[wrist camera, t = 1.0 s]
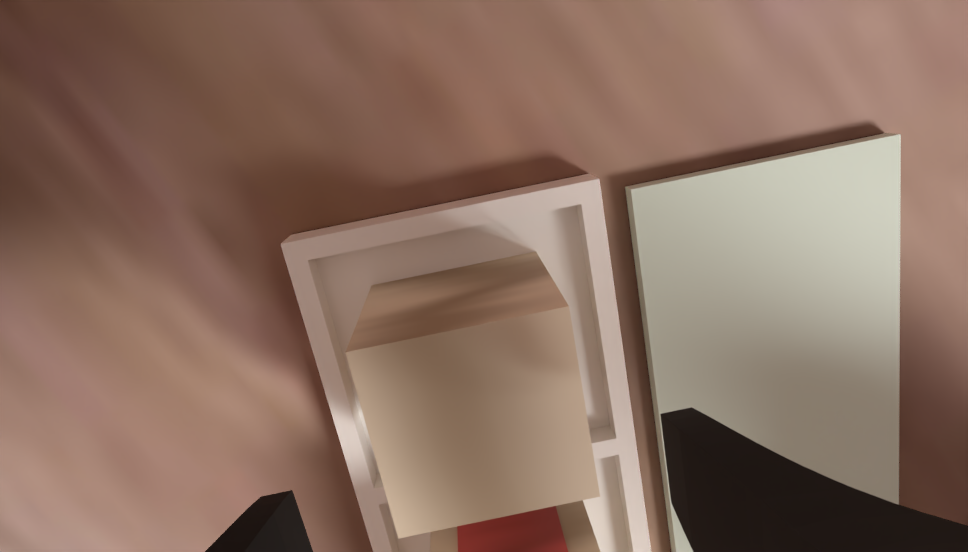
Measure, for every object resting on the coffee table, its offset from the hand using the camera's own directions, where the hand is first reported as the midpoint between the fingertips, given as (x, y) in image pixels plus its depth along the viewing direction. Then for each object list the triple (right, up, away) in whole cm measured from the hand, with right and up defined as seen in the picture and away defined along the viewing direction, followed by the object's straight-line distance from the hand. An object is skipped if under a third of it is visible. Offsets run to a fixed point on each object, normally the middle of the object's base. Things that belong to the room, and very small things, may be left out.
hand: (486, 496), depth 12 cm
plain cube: (0, +2, +7) cm, 8 cm away
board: (+9, +1, +9) cm, 13 cm away
